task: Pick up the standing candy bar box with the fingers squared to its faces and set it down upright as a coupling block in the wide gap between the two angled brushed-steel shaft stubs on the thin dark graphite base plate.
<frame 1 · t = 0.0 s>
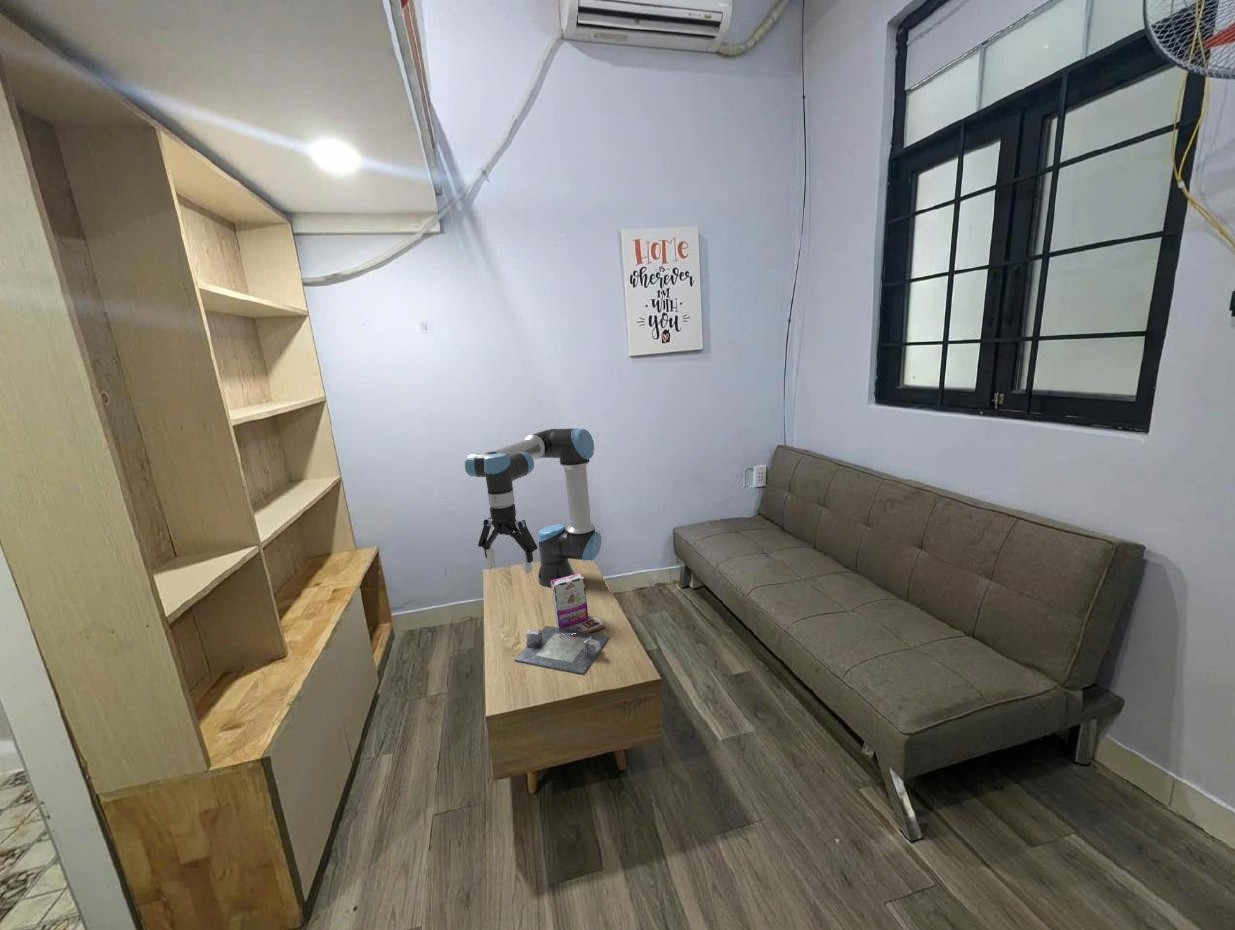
hand: (510, 569, 151), 28 cm above the table, fingers open, 13 cm apart
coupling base: (563, 648, 156), on the table
candy bar box: (571, 621, 172), on the table
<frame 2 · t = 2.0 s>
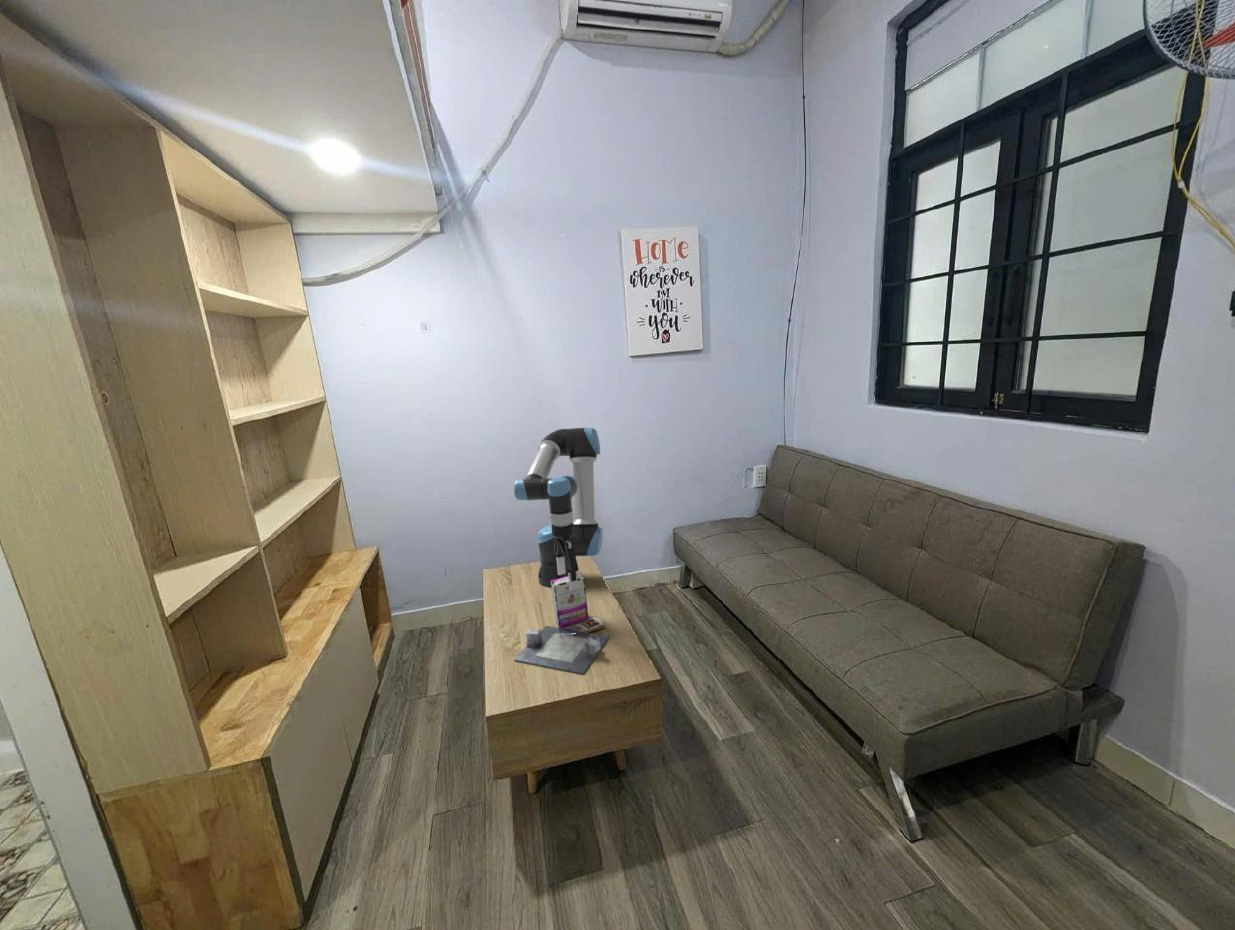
hand: (567, 581, 168), 16 cm above the table, fingers open, 13 cm apart
nothing on the table moved.
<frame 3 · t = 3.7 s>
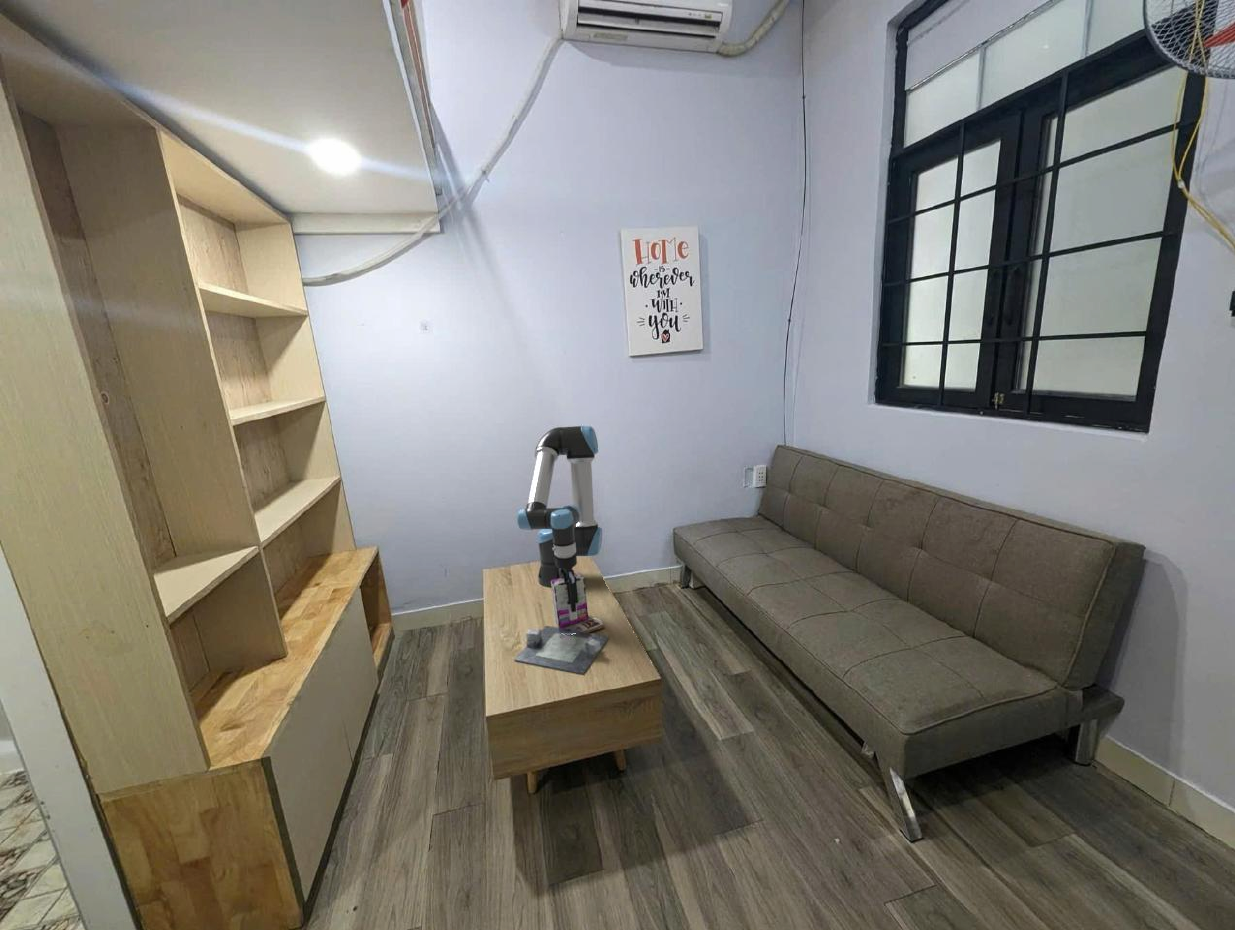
hand: (571, 615, 171), 2 cm above the table, fingers closed on candy bar box, 5 cm apart
candy bar box: (571, 621, 172), on the table, touching gripper
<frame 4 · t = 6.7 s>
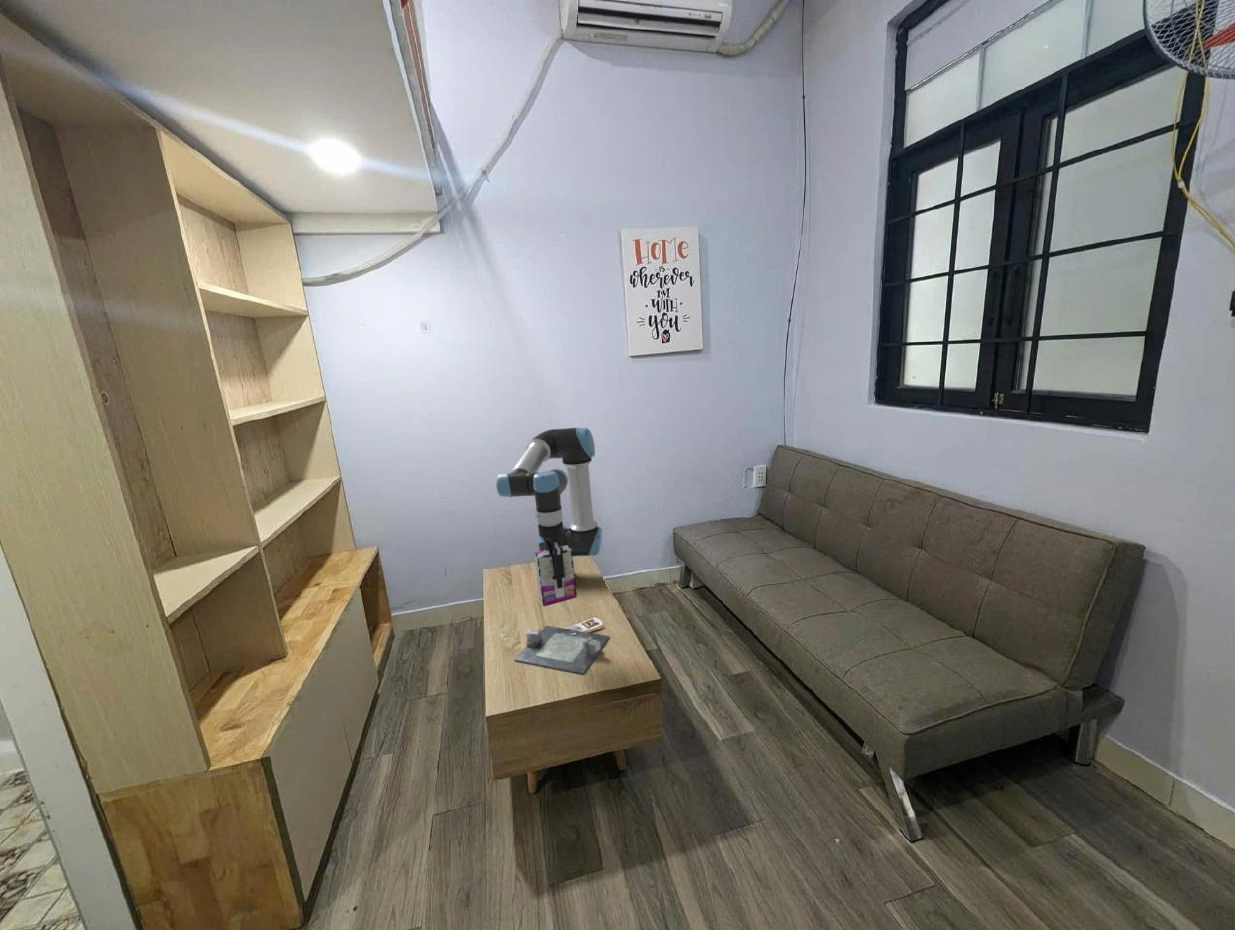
hand: (557, 592, 151), 20 cm above the table, fingers closed on candy bar box, 5 cm apart
candy bar box: (558, 599, 152), point 17 cm above the table, touching gripper
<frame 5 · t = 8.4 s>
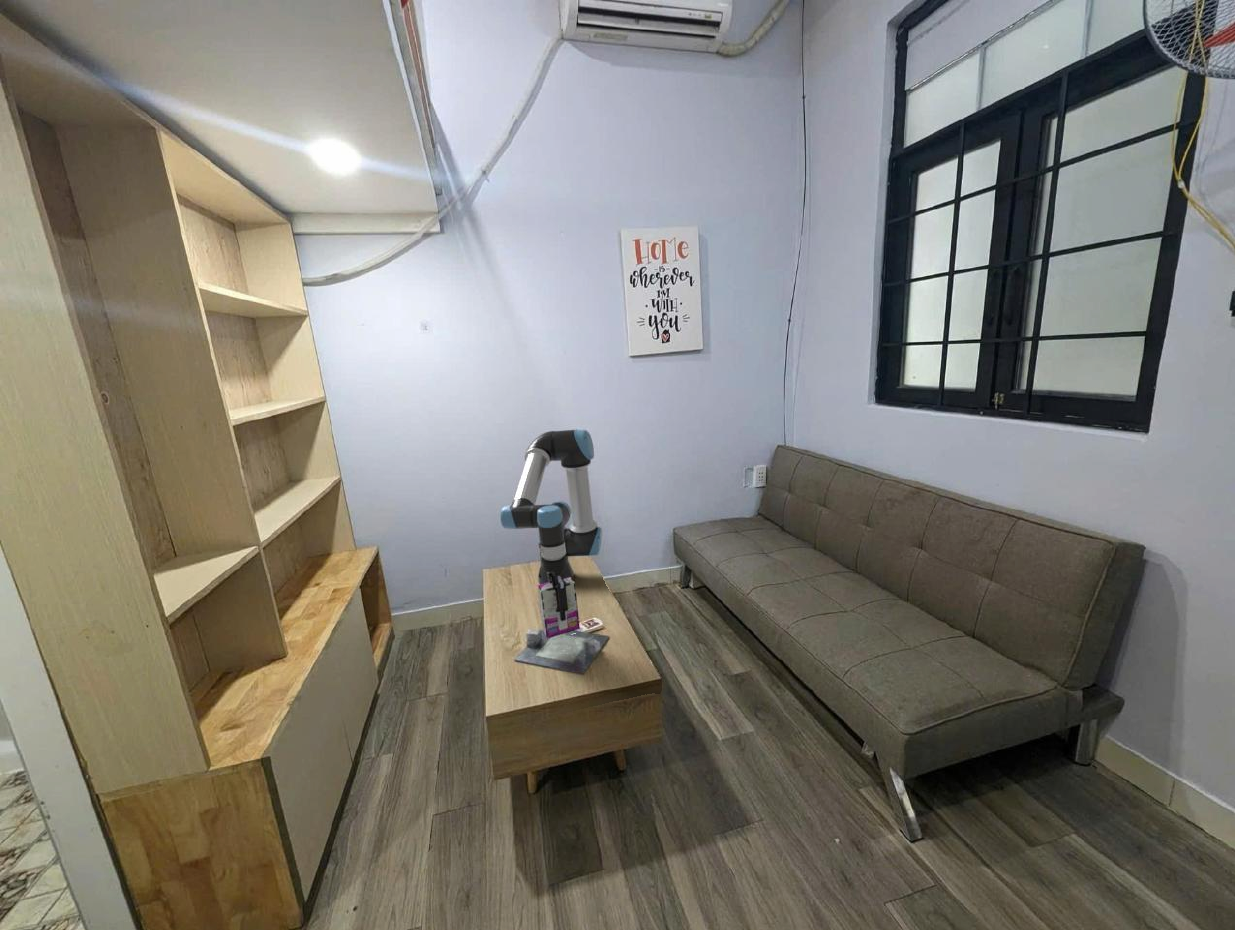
hand: (560, 624, 154), 9 cm above the table, fingers closed on candy bar box, 5 cm apart
candy bar box: (561, 630, 154), point 6 cm above the table, touching gripper
when the fingers open (4 cm above the table, at t = 9.8 s): candy bar box stays where it is, resting on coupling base.
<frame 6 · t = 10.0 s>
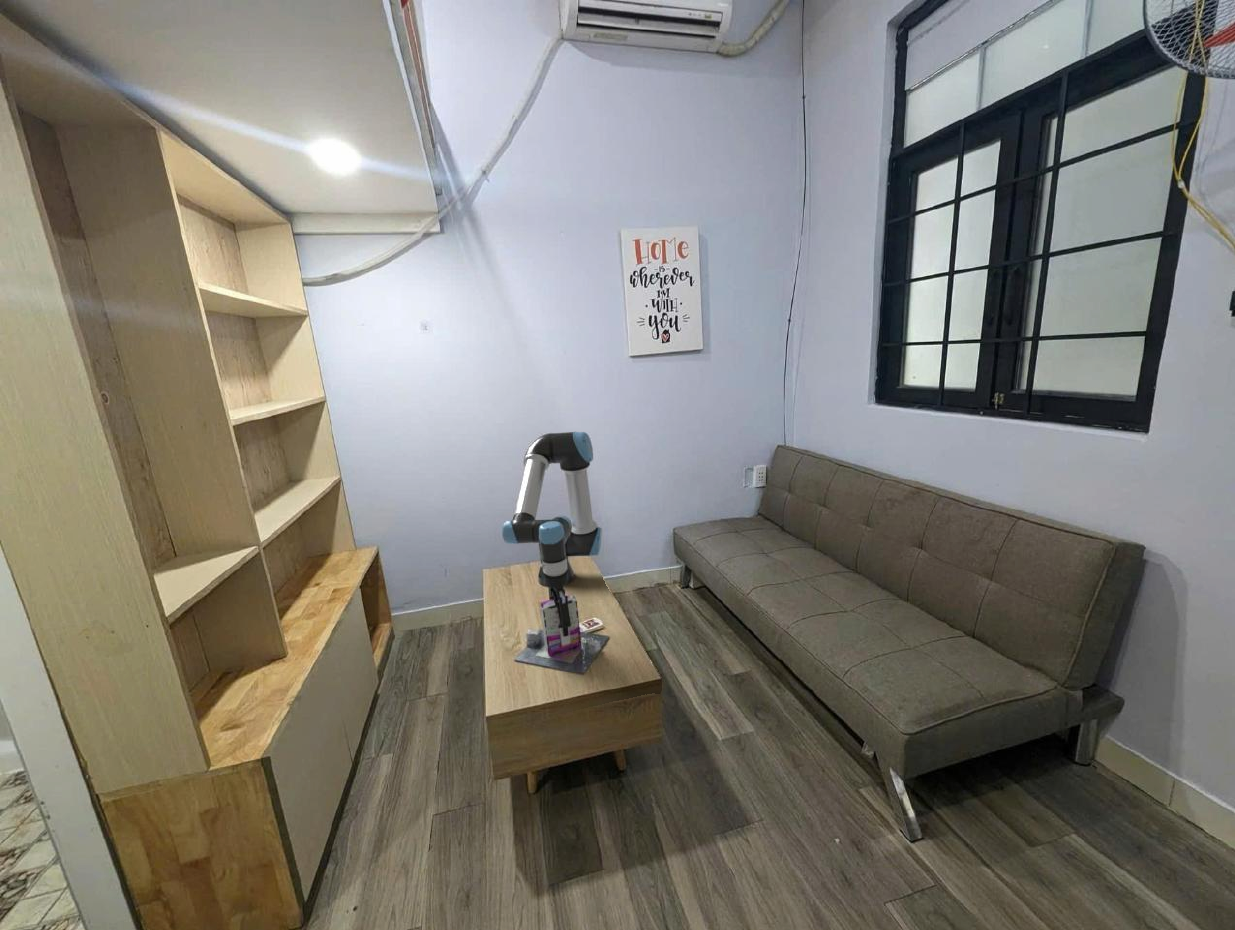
hand: (562, 637, 155), 4 cm above the table, fingers open, 8 cm apart
candy bar box: (563, 647, 156), resting on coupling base
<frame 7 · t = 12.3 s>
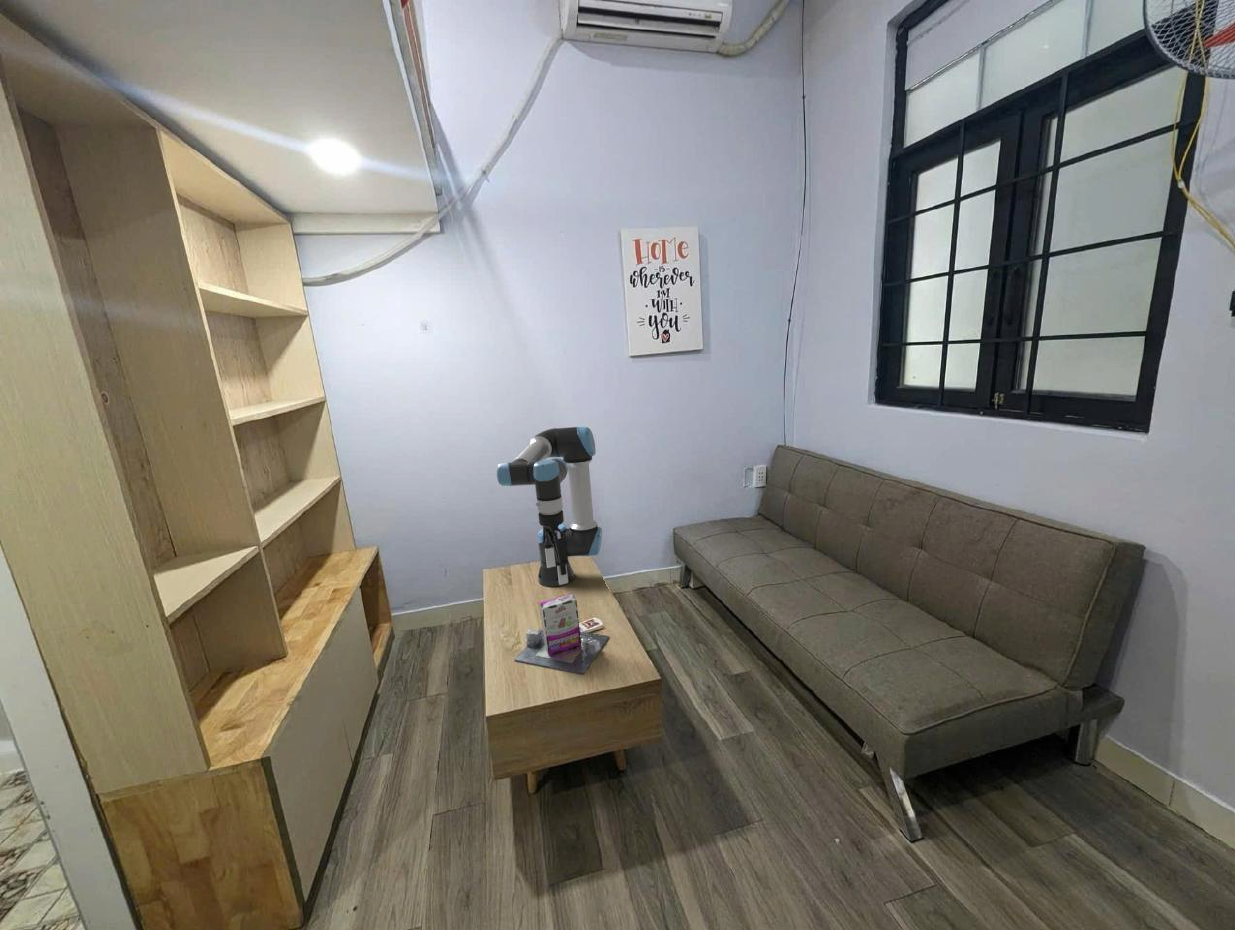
hand: (557, 574, 152), 25 cm above the table, fingers open, 13 cm apart
nothing on the table moved.
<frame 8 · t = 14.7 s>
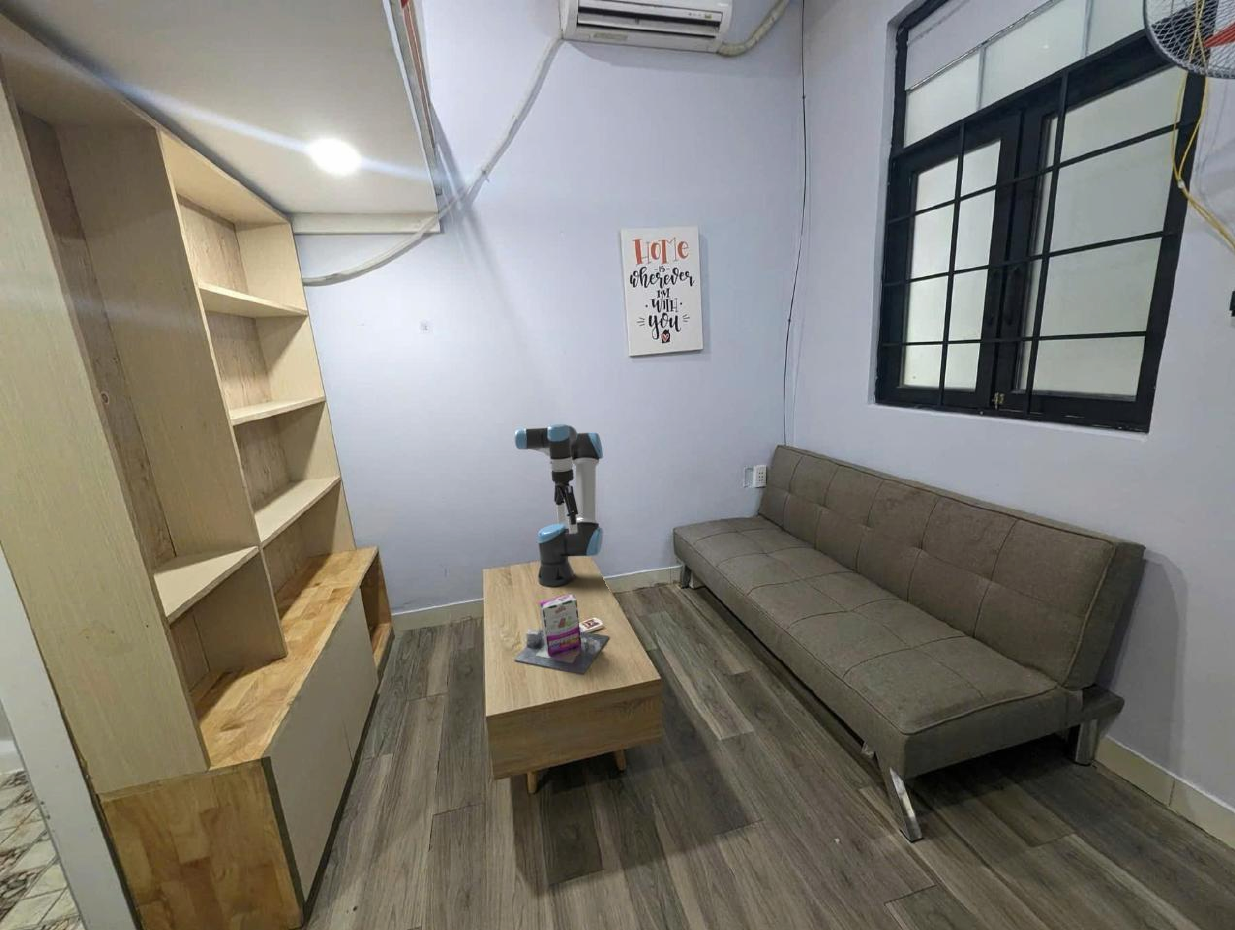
hand: (567, 527, 172), 33 cm above the table, fingers open, 13 cm apart
nothing on the table moved.
at the end: candy bar box inside the target area on the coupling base (0.1 cm from its centre), point 0.4 cm above the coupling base's base; candy bar box tilted 0°; the gripper is holding nothing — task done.
